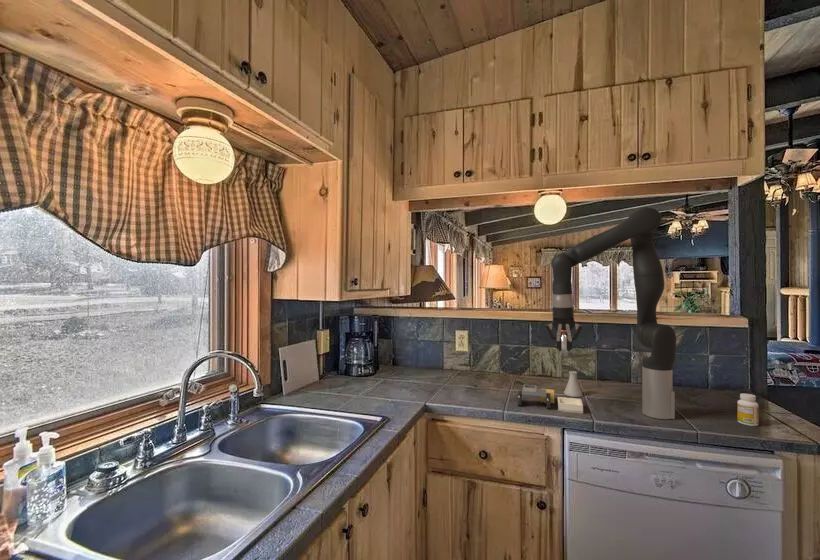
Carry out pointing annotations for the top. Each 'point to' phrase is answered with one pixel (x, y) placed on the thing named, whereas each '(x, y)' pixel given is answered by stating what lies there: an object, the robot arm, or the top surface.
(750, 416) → the supplement bottle
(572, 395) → the flask
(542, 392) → the trolley
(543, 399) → the block
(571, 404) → the tray
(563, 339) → the pin
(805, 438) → the top surface
